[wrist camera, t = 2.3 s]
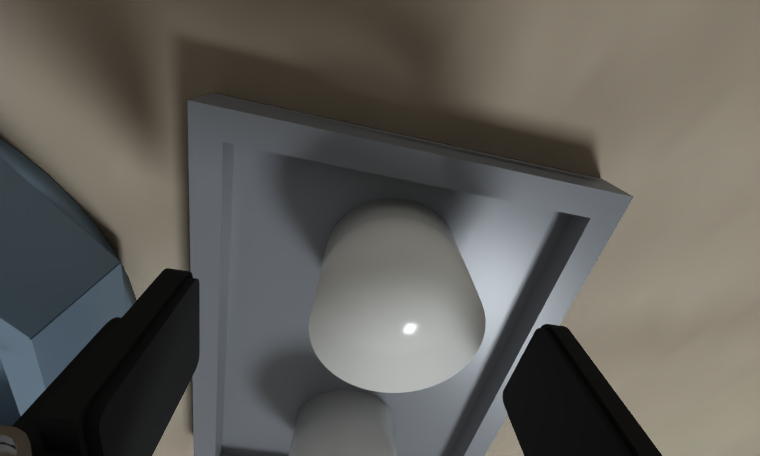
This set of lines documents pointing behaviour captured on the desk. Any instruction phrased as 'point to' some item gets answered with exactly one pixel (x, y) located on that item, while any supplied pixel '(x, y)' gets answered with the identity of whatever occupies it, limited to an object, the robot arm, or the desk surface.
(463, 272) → the pebble
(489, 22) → the desk surface
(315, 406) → the pebble
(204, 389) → the tray
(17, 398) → the bowl
